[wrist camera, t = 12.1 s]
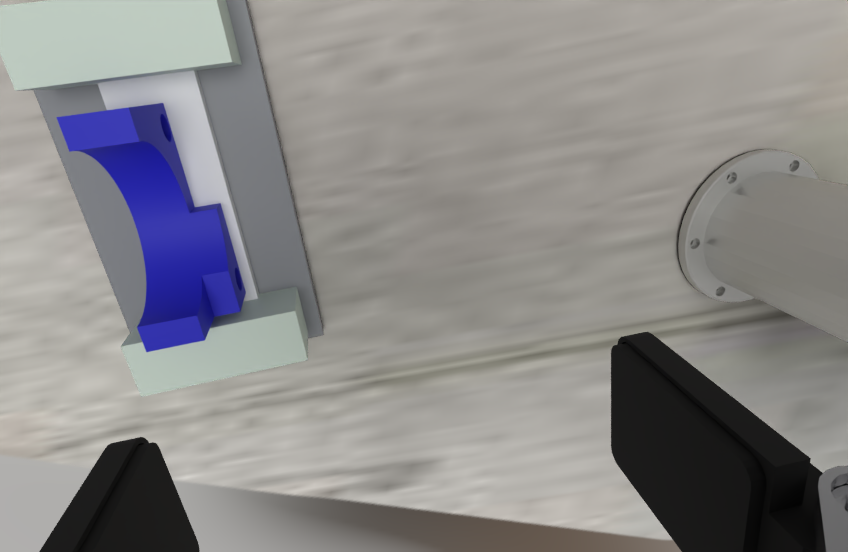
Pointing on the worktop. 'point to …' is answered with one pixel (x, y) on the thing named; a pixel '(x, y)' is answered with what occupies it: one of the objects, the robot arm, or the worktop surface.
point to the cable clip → (164, 223)
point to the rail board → (200, 156)
